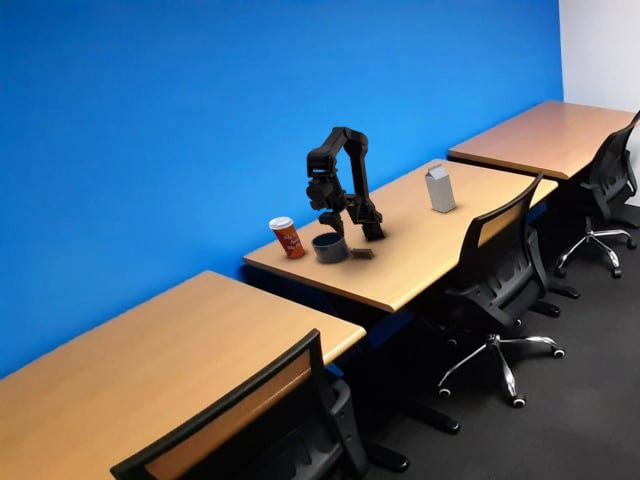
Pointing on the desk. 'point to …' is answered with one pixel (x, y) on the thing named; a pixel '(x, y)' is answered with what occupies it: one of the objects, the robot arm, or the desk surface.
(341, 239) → the dark grey round bowl
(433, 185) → the milk carton
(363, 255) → the dark rectangular block
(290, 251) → the paper cup
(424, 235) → the desk surface
